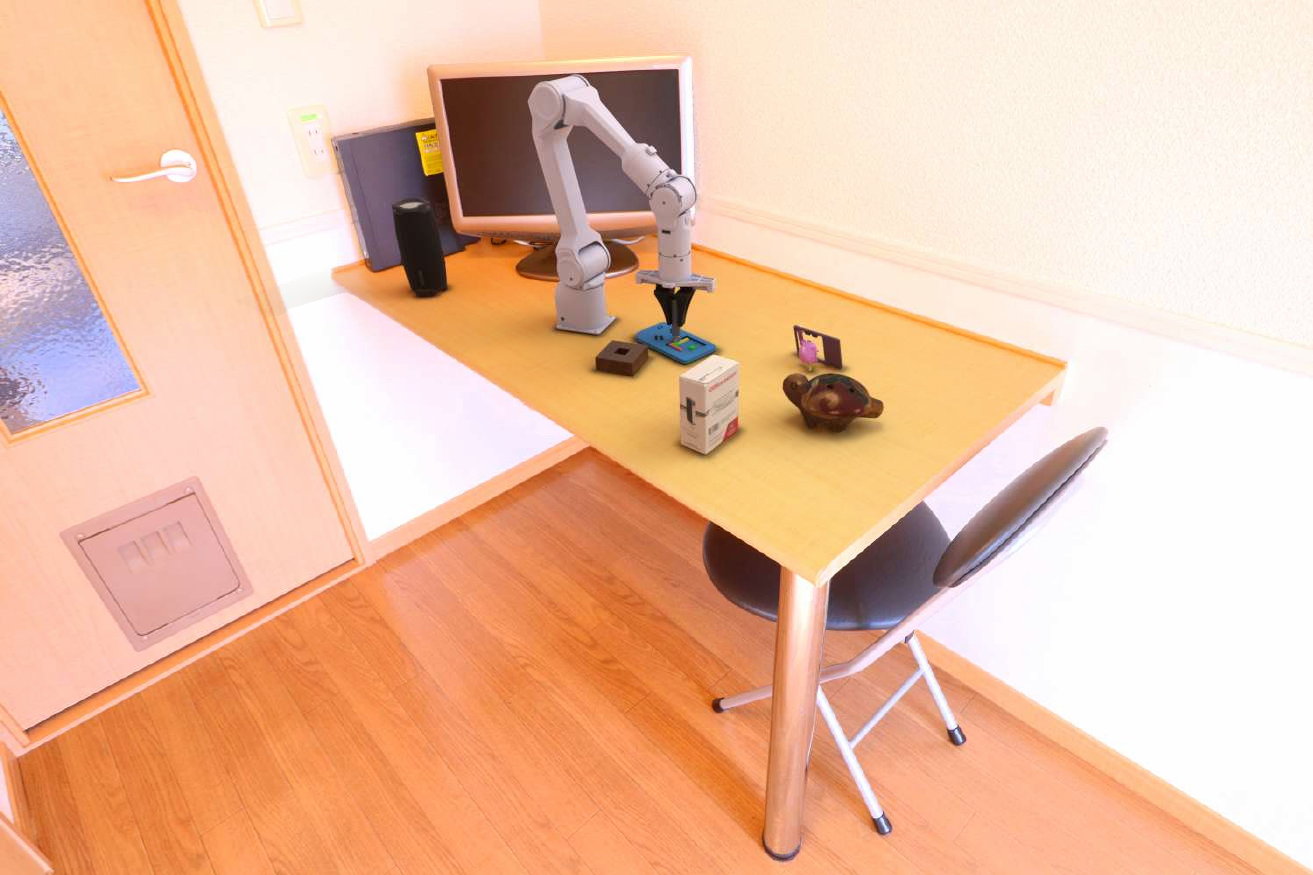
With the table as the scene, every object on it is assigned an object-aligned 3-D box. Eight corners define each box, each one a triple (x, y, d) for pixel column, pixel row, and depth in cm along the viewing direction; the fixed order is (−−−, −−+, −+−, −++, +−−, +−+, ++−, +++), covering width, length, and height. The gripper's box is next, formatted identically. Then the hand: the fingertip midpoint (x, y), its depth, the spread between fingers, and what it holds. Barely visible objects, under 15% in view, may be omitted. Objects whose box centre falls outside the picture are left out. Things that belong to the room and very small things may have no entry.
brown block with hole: (596, 370, 126) (595, 357, 125) (612, 352, 132) (612, 339, 130) (633, 376, 124) (632, 363, 122) (648, 358, 129) (648, 345, 128)
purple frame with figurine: (842, 336, 119) (796, 322, 124) (825, 356, 117) (779, 341, 122) (845, 365, 124) (800, 350, 129) (829, 384, 122) (784, 368, 127)
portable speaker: (423, 281, 164) (404, 195, 153) (458, 286, 161) (441, 197, 150) (400, 295, 157) (379, 206, 146) (437, 300, 154) (417, 209, 144)
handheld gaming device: (663, 319, 140) (718, 344, 130) (663, 325, 140) (718, 349, 131) (630, 333, 135) (684, 359, 126) (631, 338, 136) (685, 365, 126)
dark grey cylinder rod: (670, 342, 132) (669, 296, 127) (673, 338, 134) (672, 293, 128) (678, 343, 132) (678, 297, 127) (682, 339, 133) (681, 294, 128)
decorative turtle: (776, 404, 115) (783, 359, 110) (871, 412, 114) (882, 367, 109) (779, 435, 106) (786, 387, 102) (882, 444, 105) (894, 396, 101)
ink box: (712, 419, 112) (713, 351, 105) (739, 430, 109) (741, 361, 102) (678, 444, 106) (677, 374, 100) (705, 456, 104) (705, 385, 97)
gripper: (626, 255, 122) (631, 327, 130) (707, 264, 118) (706, 338, 125) (642, 242, 128) (645, 312, 135) (720, 249, 123) (718, 322, 131)
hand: (676, 324), depth 131 cm, fingers closed on dark grey cylinder rod, 1 cm apart
